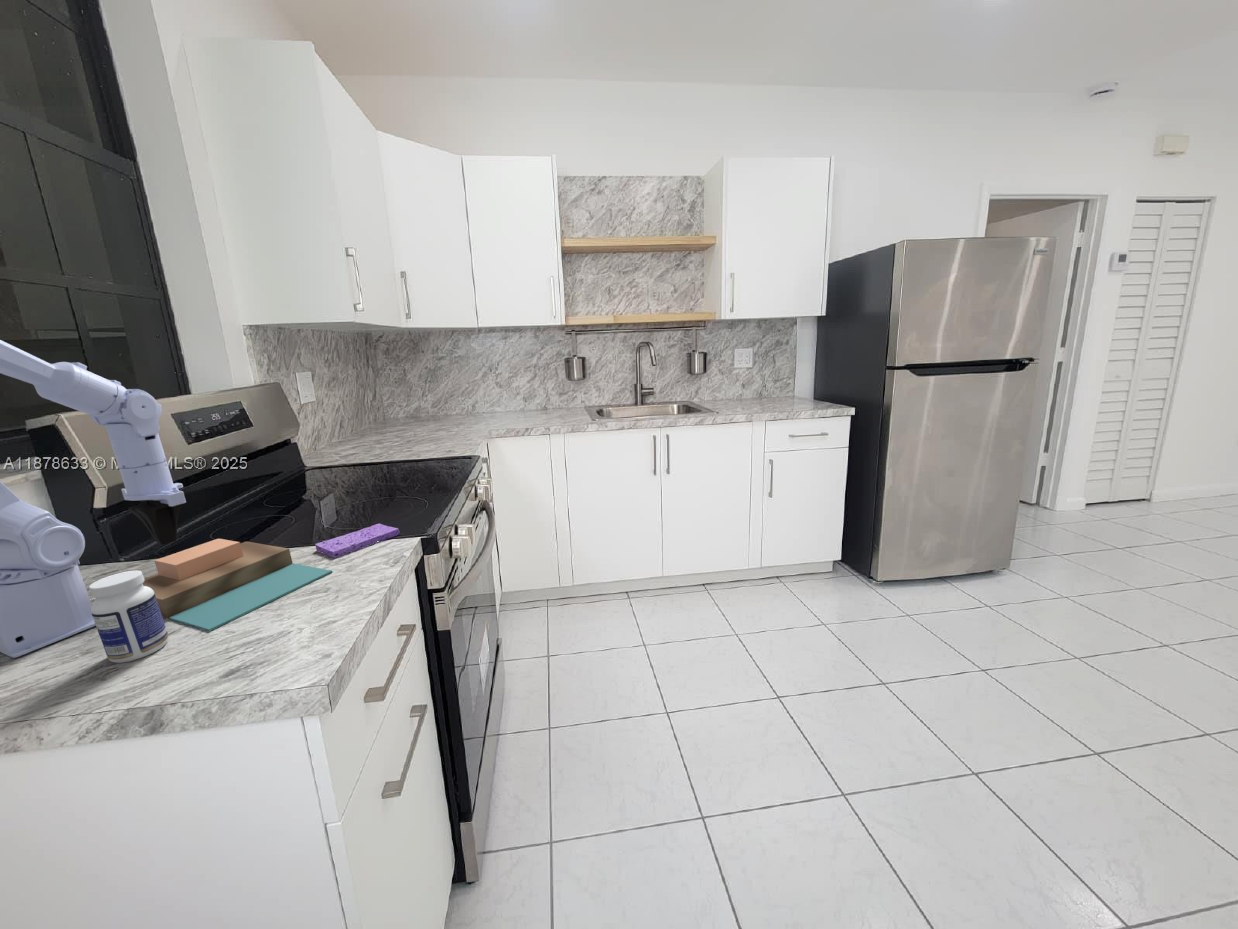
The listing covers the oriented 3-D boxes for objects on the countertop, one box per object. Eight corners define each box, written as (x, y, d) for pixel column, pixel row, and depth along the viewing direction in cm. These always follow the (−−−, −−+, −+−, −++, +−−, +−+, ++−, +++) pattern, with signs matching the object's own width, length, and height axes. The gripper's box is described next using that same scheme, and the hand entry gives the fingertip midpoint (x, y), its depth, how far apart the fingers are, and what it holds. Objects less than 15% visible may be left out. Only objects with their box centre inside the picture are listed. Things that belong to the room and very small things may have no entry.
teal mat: (209, 631, 67) (209, 629, 66) (169, 619, 70) (169, 617, 70) (332, 572, 82) (332, 570, 82) (294, 565, 86) (293, 563, 86)
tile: (180, 580, 76) (175, 565, 75) (158, 575, 78) (154, 560, 78) (243, 556, 84) (239, 542, 83) (222, 552, 86) (218, 538, 86)
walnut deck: (168, 618, 71) (162, 599, 70) (124, 605, 75) (118, 587, 75) (292, 564, 86) (289, 548, 86) (250, 556, 91) (246, 541, 91)
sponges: (316, 553, 92) (314, 544, 92) (381, 530, 102) (380, 521, 102) (334, 561, 88) (332, 551, 88) (400, 536, 98) (399, 527, 97)
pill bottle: (167, 632, 67) (146, 564, 65) (172, 648, 63) (149, 576, 61) (108, 652, 63) (82, 580, 61) (109, 671, 59) (81, 595, 57)
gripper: (197, 459, 81) (219, 537, 85) (149, 456, 87) (172, 529, 90) (143, 471, 75) (169, 554, 78) (96, 466, 81) (122, 544, 84)
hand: (167, 542), depth 84 cm, fingers closed
